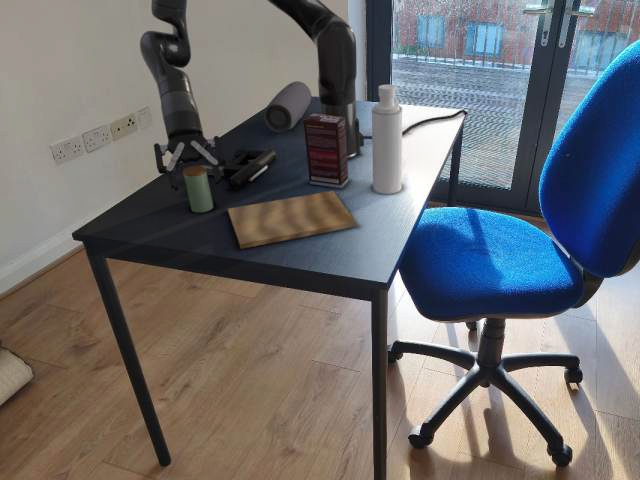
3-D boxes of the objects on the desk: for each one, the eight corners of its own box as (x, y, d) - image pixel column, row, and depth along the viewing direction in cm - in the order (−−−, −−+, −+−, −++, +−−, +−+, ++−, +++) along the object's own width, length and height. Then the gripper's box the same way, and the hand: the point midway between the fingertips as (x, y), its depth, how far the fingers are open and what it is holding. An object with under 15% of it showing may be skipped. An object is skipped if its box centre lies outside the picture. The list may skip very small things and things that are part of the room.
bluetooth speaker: (286, 111, 178) (282, 78, 172) (314, 112, 177) (312, 79, 171) (263, 136, 160) (259, 101, 154) (295, 137, 159) (291, 102, 153)
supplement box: (349, 180, 135) (346, 116, 126) (341, 189, 131) (338, 123, 122) (316, 176, 137) (311, 112, 128) (308, 184, 134) (302, 118, 124)
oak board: (333, 195, 129) (333, 190, 128) (355, 226, 117) (355, 221, 116) (228, 213, 122) (227, 208, 121) (240, 249, 110) (239, 243, 109)
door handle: (182, 174, 133) (240, 179, 128) (227, 144, 148) (280, 148, 143) (185, 187, 135) (243, 192, 130) (229, 156, 150) (282, 160, 145)
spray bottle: (378, 180, 135) (376, 73, 121) (404, 183, 133) (406, 76, 119) (369, 191, 130) (366, 82, 115) (396, 195, 128) (397, 84, 114)
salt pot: (212, 201, 127) (204, 163, 121) (214, 210, 123) (207, 172, 118) (190, 204, 125) (181, 167, 120) (192, 214, 121) (183, 175, 116)
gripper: (144, 112, 116) (160, 185, 114) (213, 105, 121) (230, 174, 119) (149, 129, 124) (164, 197, 121) (215, 121, 128) (230, 187, 126)
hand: (197, 186), depth 120 cm, fingers open, 8 cm apart
